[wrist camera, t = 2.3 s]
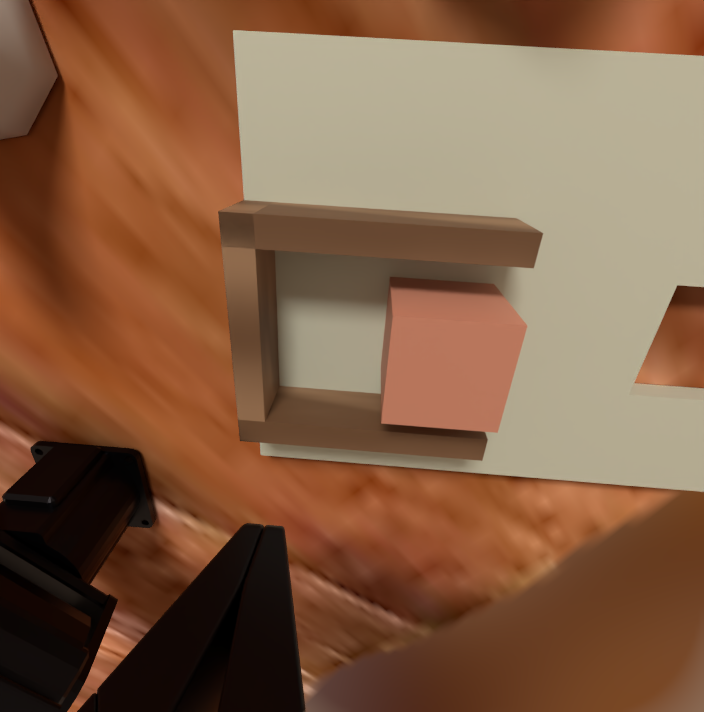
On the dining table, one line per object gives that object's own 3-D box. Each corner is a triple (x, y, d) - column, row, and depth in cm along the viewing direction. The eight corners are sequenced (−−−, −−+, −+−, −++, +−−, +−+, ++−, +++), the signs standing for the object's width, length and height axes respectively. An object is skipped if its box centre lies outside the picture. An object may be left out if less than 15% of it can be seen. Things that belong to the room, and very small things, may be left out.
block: (473, 374, 20) (497, 432, 16) (380, 366, 20) (381, 423, 16) (494, 283, 18) (527, 326, 14) (389, 276, 18) (393, 315, 14)
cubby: (469, 420, 21) (482, 460, 18) (257, 403, 21) (240, 440, 19) (516, 218, 16) (542, 233, 14) (244, 200, 17) (218, 211, 14)
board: (717, 478, 23) (733, 494, 22) (265, 441, 24) (260, 455, 23) (973, 78, 14) (1020, 73, 13) (243, 37, 15) (232, 30, 14)
